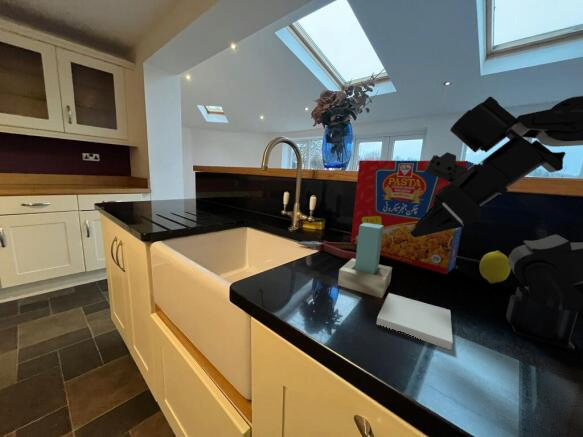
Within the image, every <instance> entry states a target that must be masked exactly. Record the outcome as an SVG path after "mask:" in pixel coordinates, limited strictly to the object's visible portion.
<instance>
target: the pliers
mask: <svg viewBox="0 0 583 437" xmlns="http://www.w3.org/2000/svg"><path fill="white" fill-rule="evenodd" d="M297 245H300V246H304V247H307V248H310V249H315V250H316V249H317V250H318V251H319V252H325V253H328V254H331V255H333V256H336V257H338V258H341V259H345V260H349V261H350V260H351V259H352V258H353V259H356V253H357V244H353V243H351V242H337V241H336V242H334V241H332V242H330V241H326V240H323V241H322V242H319V241H313V240H311V241H309V240H300V242H297ZM350 249H352V251H351V250H350ZM349 250H350V251H349ZM354 251H356V252H354Z"/></svg>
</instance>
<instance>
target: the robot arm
mask: <svg viewBox="0 0 583 437" xmlns="http://www.w3.org/2000/svg"><path fill="white" fill-rule="evenodd" d="M449 131H450V132H451V133H452V134H453V135H455V137H457V138H458V139H459V140H460V141H461V142H462V143H464V144H465V145H466V146H467V147H468V148H469V149H470V150H471V151H473V153H477V152H478V151H481V152H483V151H484V152H485V153H487V152H489V151H490V150H492V149H493V148H495V147H496V146H497V145H499V144H500V143H501V142H502V141H503V140H505V139H506V138H507V139H508V141H507V142H505V143H503V144H502V145H501V146H500V147H498V148H497V149H496V150H495V151H493V152H492V153H491V154H489V155H488V156H487V157H485V158H484V159H483V160H481V161H480V162H479V163H474V165H472V166H471V167H470V168H465V167H463V166H460V165H459V164H456V161H457V155H456V154H454V153H450V152H448V151H447V152H445V153H444V154H442V155H441V156H439V155H436V154H434V155H432V157H431V159H430V160H429V161H430V162H429V163H428V165H427V167H426V168H425V170H424V172H425V173H427V174H430V175H435V176H437V177H439V178H442V179H444V180H446V181H449V182H450V183H449V184H448V185H449V186H444V187H443V188H442V189H440V190H439V191H438V194H435V197H434V201H433V206H432V207H431V208H430V209H429V210H428V212H427V213H426V214H425V215H424V216H423V217H422V218H421V219H420V220H419V221H418V222H417V223H416V224H415V226H416V227H415V228H414V229H413V230H412V231H411V235H412V236H413V237H419V236H424V235H428V234H432V233H437V232H441V231H446V230H451V229H455V228H464V227H465V225H466V226H467V227H470V226H472V225H473V224H475V223H476V222H478V221H479V220H481V219H482V210H483V209H482V206H483V205H485V204H486V203H488V202H489V201H491V200H492V199H494V198H495V197H496V196H497V195H504V194H505V193H506V192H508V191H509V188H510V187H511V186H513V185H515V184H516V183H517V182H519V181H520V180H522V179H524V178H525V177H526V176H528V175H529V174H531V173H532V172H534V171H535V170H537V169H538V168H540V167H542V168H543V169H545V171H547V172H548V173H555V172H558V171H562V170H563V168H564V158H565V155H566V154H567V153H566V151H560V152H556V151H555V152H554V151H551V150H550V149H549V148H548V147H552V148H553V147H559V148H560V147H574V146H575V147H578V146H583V95H579V96H577V95H576V96H573V97H569V98H566V99H564V100H561V101H560V102H558V103H556V104H555V105H553V106H552V107H551V108H549V109H548V108H547V109H544V110H539V111H535V112H534V111H533V112H529V113H525V114H520V115H518V116H517V117H516V116H514V115H513V114H511V113H510V112H509V111H508V110H507V109H505V108H503V107H502V105H500V103H499V102H498V101H497V100H496V99H495V98H494V97H492V96H488V97H487V98H486V99H485V100H484V101H482V102H480V103H479V104H477V105H475V106H474V107H473V108H471V109H468V110H467V111H466V112H465V113H464V114H463V115H462V116H460V117H459V119H457V121H455V123H454V124H453V125H452V126H451V127H450V130H449ZM526 138H527V139H536V140H534V141H533V142H530V141H529V140H527V139H526ZM547 146H548V147H547ZM461 221H463V224H462V223H461ZM464 224H465V225H464ZM523 243H524V244H522V245H519V246H516V247H515V248H514V249H513V250H512V251H511V252H510V254H509V255H508V259H509V260H508V261H509V265H510V267H511V270H512V273H513V275H514V276H515V278H516V279H517V281H518V282H519V283H521V285H523V286H524V287H520V286H517V287H516V291H515V295H514V294H511V295H510V297H509V302H508V306H507V310H506V315H505V317H506V319H507V321H508V323H509V324H510V325H511V328H512V330H513V331H514V333H515V334H516V335H518V336H521V337H525V338H528V339H531V340H536V341H539V342H542V343H545V344H549V345H553V346H556V347H559V348H563V349H566V350H569V351H575V349H576V348H575V345H574V344H573V342H572V341H570V340H571V337H572V334H573V330H574V327H575V324H576V320H577V316H578V313H579V312H580V311H581V310H582V309H583V294H582V293H581V292H580V291H579V290H578V289H577V288H576V287H575V285H579V284H582V283H583V241H582V242H571V241H570V240H568V239H566V238H564V237H562V236H560V235H558V234H551V235H550V236H545V237H543V238H540V239H537V240H536V239H535V240H523Z"/></svg>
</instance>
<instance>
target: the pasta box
mask: <svg viewBox="0 0 583 437" xmlns="http://www.w3.org/2000/svg"><path fill="white" fill-rule="evenodd" d="M429 162H430V160H366V159H365V160H363V159H362V160H359V162H358V170H357V171H358V172H357V181H356V188H355V189H356V190H355V198H354V199H355V200H354V208H353V217H352V227H351V237H350V243H353V244H358V235H359V226H360V225H361V224H363V223H370V224H377V225H383V226H384V227H383V235H382V242H381V250H380V256H382V257H384V258H388V259H390V260H391V259H392V260H395V261H398V262H402V263H405V264H409V265H412V266H415V267H419V268H422V269H427V270H430V271H433V272H437V273H440V274H444V275H447V274H448V273H450V272H451V271H452V270H453V269H455V265H456V261H457V255H458V251H459V244H460V239H461V235H462V228H463V227H462V228H455V229H451V230H446V231H441V232H437V233H432V234H428V235H424V236H419V237H413V236H412V235H411V231H412V230H413V229H414V228H415V227H416V226H415V224H416V223H417V222H418V221H419V220H420V219H421V218H422V217H423V216H424V215H425V214H426V213H427V212H428V210H429V209H430V208H431V207H432V206H433V201H434V197H435V194H438V191H439V190H440V189H442V188H443V187H444V186H449V185H448V184H449V183H450V182H449V181H446V180H444V179H442V178H439V177H437V176H435V175H430V174H427V173H425V172H424V170H425V168H426V167H427V165H428V163H429ZM456 164H459V165H460V166H463V167H465V168H470V167H471V166H472V165H474V164H475V163H474V162H471V161H469V160H456ZM461 223H462V224H463V225H464V222H463V221H461Z"/></svg>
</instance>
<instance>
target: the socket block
mask: <svg viewBox="0 0 583 437" xmlns="http://www.w3.org/2000/svg"><path fill="white" fill-rule="evenodd" d="M355 262H356V259H353V258H352V259H351V260H350V259H349V260H348V261H347V262H346V263H345V264H344V265H343V266H342V267H340V268H339V270H338V281H337V286H339V287H343V288H346V289H349V290H353V291H355V292H356V291H357V292H360V293H363V294H367V295H369V296H373V297H375V298H376V297H377V298H380V299H383V297H384V295H385V294H386V291H387V290H388V287H389V286H390V283H391V279H392V274H393V273H392V270H393V267H392V266H387V265H383V264H379V265H378V273H377V275H372V274H369V273H365V272H361V271H357V270H355Z"/></svg>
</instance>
